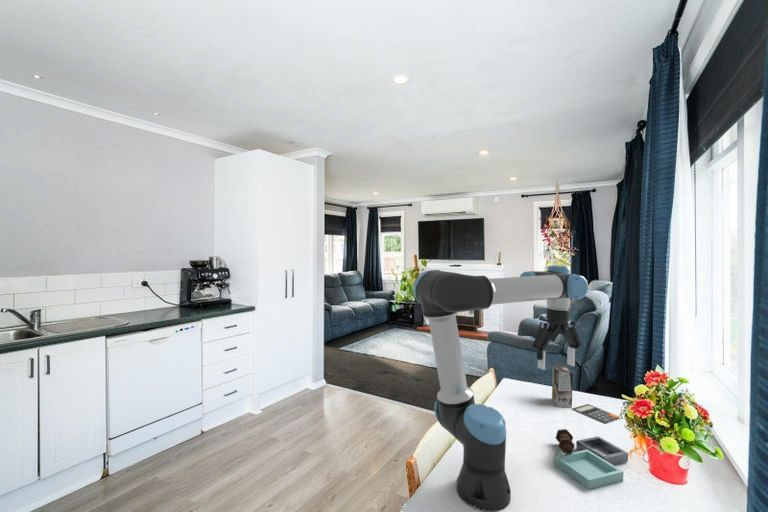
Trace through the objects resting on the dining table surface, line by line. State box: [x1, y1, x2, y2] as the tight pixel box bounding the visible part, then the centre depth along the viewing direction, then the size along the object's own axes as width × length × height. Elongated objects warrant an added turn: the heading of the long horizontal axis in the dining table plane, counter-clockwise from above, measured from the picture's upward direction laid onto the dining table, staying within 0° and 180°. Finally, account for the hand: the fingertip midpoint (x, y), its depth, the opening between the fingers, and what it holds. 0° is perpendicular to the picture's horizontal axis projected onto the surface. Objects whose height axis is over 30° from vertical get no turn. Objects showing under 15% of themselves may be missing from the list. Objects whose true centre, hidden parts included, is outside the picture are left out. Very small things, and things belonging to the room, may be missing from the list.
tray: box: [554, 450, 624, 491], centre depth 116 cm, size 14×13×3 cm
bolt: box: [555, 428, 576, 454], centre depth 126 cm, size 6×5×15 cm
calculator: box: [571, 403, 621, 425], centre depth 159 cm, size 12×1×15 cm
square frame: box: [575, 435, 629, 466], centre depth 126 cm, size 10×11×3 cm
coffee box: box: [551, 365, 574, 409], centre depth 169 cm, size 9×6×16 cm
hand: (556, 367), depth 131 cm, fingers open, 13 cm apart
